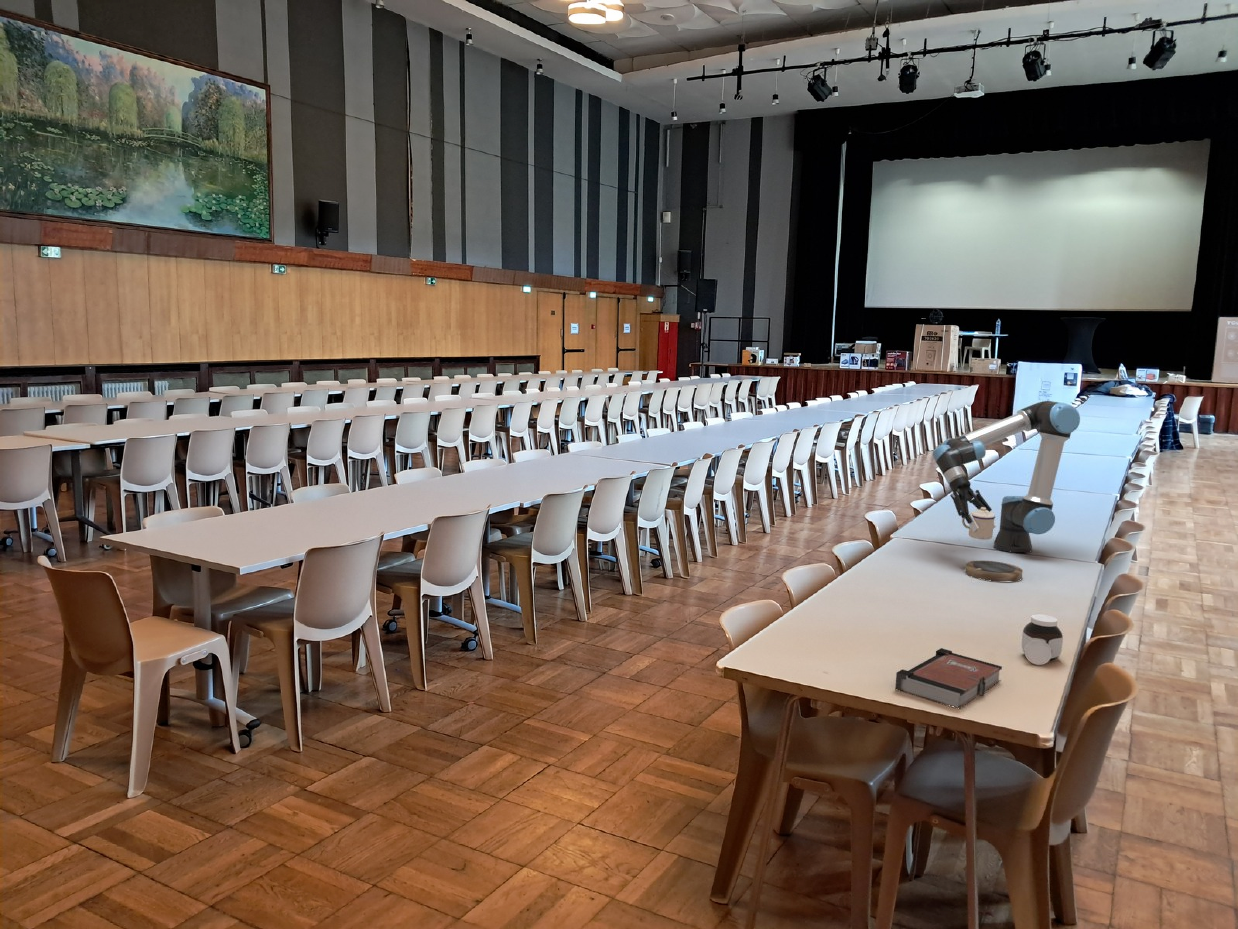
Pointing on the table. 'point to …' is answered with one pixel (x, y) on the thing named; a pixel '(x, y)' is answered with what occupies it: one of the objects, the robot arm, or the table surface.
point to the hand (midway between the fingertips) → (984, 529)
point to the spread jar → (1042, 639)
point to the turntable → (993, 571)
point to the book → (949, 678)
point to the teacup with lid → (982, 524)
